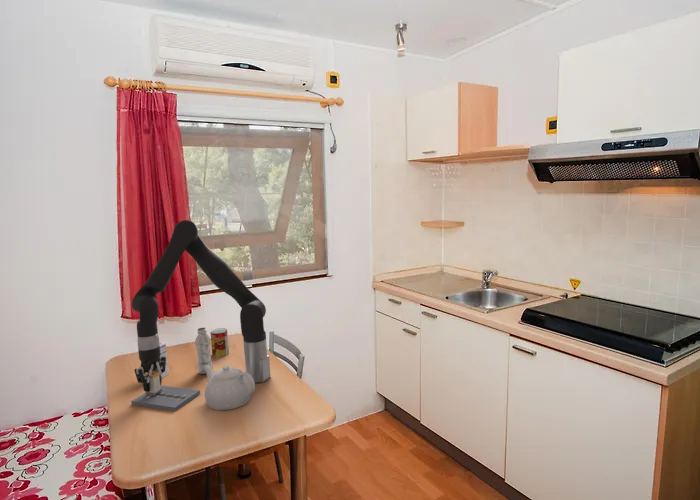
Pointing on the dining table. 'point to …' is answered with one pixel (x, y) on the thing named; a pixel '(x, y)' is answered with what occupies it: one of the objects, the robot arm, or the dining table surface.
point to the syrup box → (164, 354)
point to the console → (167, 398)
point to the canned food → (219, 342)
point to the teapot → (228, 388)
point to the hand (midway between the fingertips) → (153, 387)
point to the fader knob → (154, 384)
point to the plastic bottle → (203, 350)
